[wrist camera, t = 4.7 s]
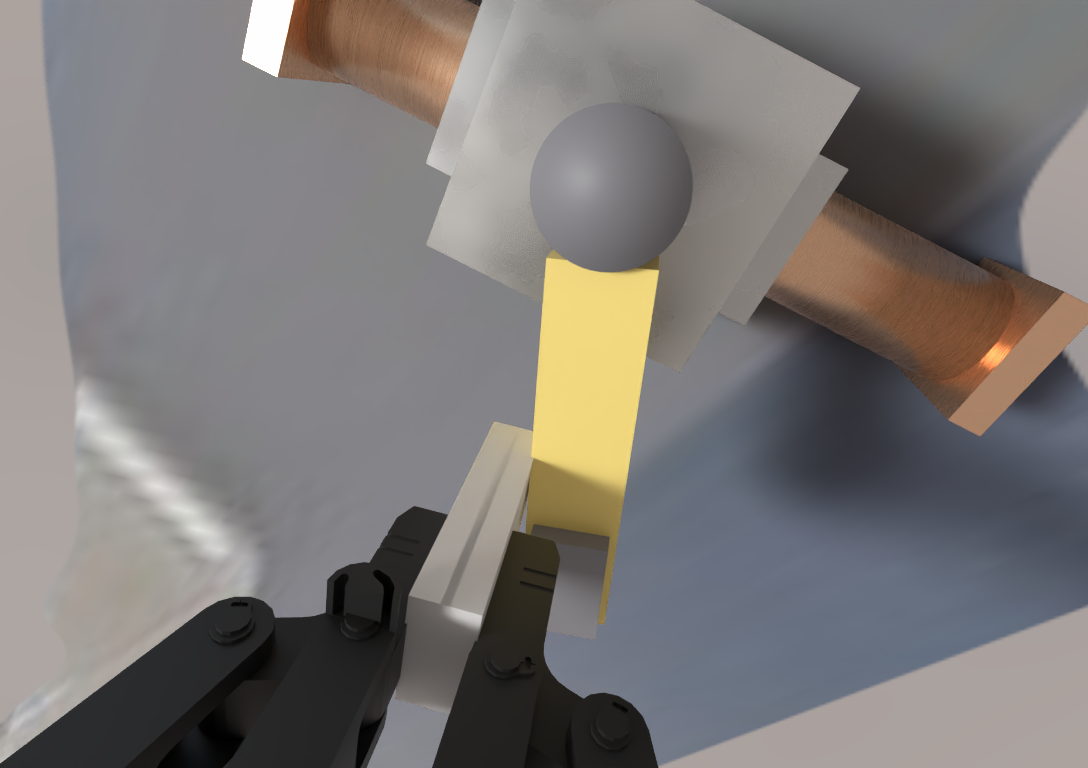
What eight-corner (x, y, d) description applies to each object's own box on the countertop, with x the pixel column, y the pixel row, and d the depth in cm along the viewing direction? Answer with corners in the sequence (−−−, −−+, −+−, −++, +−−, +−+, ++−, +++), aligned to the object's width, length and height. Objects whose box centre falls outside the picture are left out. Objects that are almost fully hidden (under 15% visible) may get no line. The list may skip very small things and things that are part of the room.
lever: (561, 99, 15) (532, 96, 11) (696, 110, 14) (708, 110, 11) (527, 535, 20) (501, 621, 17) (624, 552, 20) (617, 644, 16)
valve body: (368, -126, 20) (210, -255, 13) (1048, 231, 21) (1247, 292, 14) (309, 110, 24) (159, 109, 17) (895, 410, 25) (992, 531, 18)
